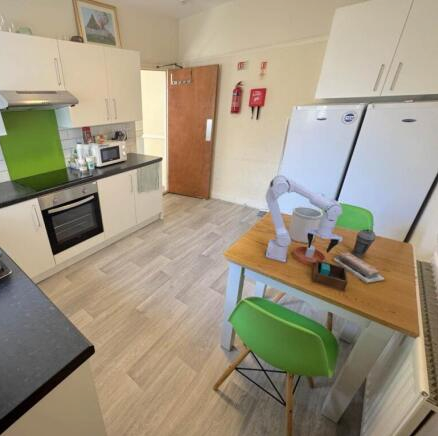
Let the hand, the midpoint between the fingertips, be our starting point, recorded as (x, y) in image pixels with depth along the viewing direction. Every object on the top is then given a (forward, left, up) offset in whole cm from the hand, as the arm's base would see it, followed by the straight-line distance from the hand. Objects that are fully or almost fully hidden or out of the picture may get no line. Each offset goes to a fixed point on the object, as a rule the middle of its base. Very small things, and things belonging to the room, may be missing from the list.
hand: (318, 249), depth 119 cm
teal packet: (+4, -9, -8) cm, 13 cm away
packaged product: (+18, +4, -9) cm, 20 cm away
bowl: (-2, +3, -8) cm, 9 cm away
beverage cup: (+20, +19, -9) cm, 29 cm away
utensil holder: (-7, +25, -9) cm, 27 cm away
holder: (+6, -11, -8) cm, 15 cm away
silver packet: (-2, +6, -8) cm, 10 cm away
